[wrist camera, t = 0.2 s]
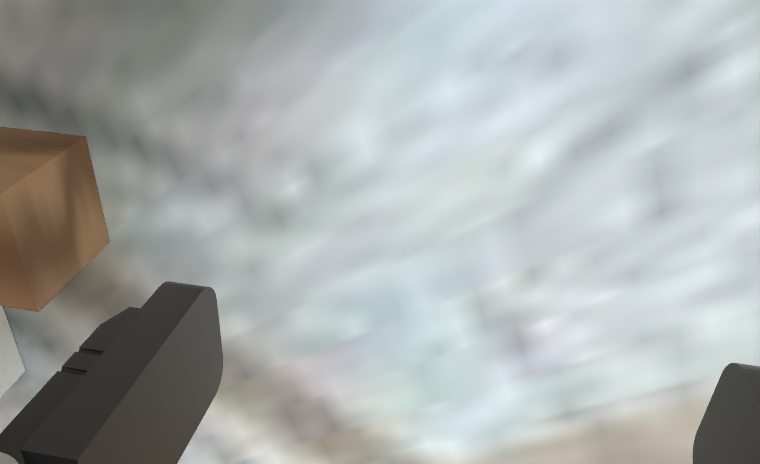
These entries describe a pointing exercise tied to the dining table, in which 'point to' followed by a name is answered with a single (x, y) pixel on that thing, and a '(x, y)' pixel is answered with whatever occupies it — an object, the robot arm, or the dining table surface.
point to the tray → (8, 356)
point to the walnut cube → (45, 215)
